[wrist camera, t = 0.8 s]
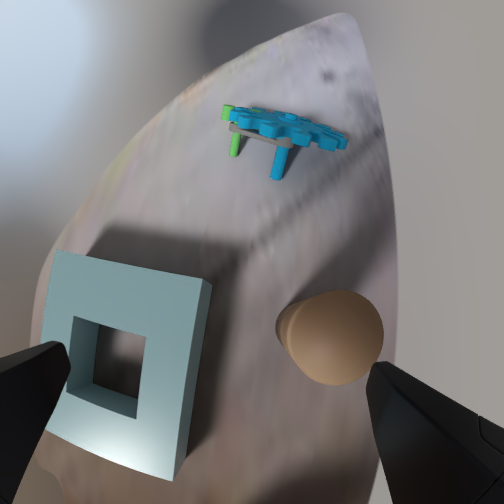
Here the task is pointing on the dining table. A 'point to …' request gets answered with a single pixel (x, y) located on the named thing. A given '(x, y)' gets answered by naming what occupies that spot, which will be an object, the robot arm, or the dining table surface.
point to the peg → (332, 336)
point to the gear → (279, 132)
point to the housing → (153, 368)
